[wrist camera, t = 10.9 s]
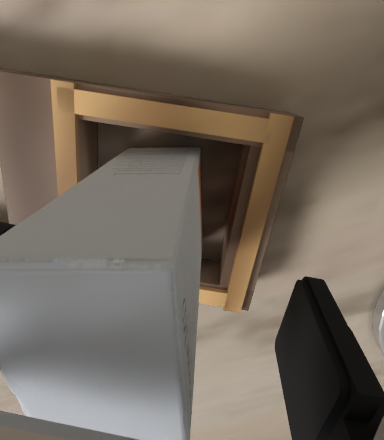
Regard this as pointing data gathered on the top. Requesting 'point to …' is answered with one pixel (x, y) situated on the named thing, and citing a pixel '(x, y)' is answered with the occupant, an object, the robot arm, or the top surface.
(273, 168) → the wooden flat frame
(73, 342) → the skincare box
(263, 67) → the top surface
